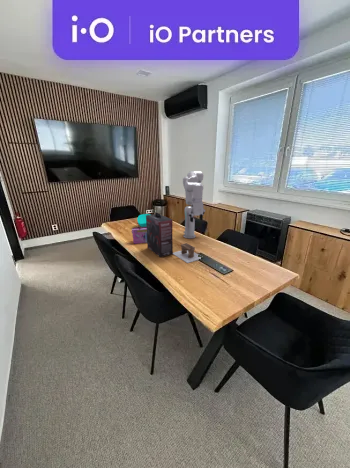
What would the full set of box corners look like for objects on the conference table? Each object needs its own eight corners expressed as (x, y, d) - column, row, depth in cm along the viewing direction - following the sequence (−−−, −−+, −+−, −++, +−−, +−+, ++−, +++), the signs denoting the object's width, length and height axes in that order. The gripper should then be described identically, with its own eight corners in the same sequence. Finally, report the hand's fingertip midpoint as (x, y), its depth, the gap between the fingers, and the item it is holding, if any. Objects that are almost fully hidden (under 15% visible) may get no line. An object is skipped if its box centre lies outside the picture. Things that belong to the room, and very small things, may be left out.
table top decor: (133, 226, 242) (132, 215, 237) (154, 223, 255) (154, 212, 251) (146, 235, 209) (145, 223, 205) (169, 231, 223) (169, 220, 218)
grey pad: (172, 253, 168) (172, 252, 168) (187, 249, 176) (187, 248, 176) (187, 263, 151) (187, 262, 151) (203, 258, 160) (203, 257, 160)
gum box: (132, 244, 188) (131, 230, 183) (131, 241, 195) (130, 227, 190) (157, 241, 194) (157, 228, 189) (156, 239, 201) (156, 225, 197)
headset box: (146, 247, 180) (145, 210, 169) (159, 244, 186) (158, 209, 175) (159, 258, 160) (159, 217, 149) (173, 254, 166) (173, 215, 156)
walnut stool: (188, 258, 158) (189, 248, 155) (180, 253, 167) (180, 244, 164) (194, 256, 161) (194, 247, 158) (186, 252, 170) (186, 243, 167)
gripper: (191, 202, 153) (190, 223, 160) (208, 199, 162) (207, 220, 168) (185, 200, 159) (185, 221, 165) (202, 198, 168) (201, 218, 174)
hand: (196, 220), depth 167 cm, fingers open, 9 cm apart
